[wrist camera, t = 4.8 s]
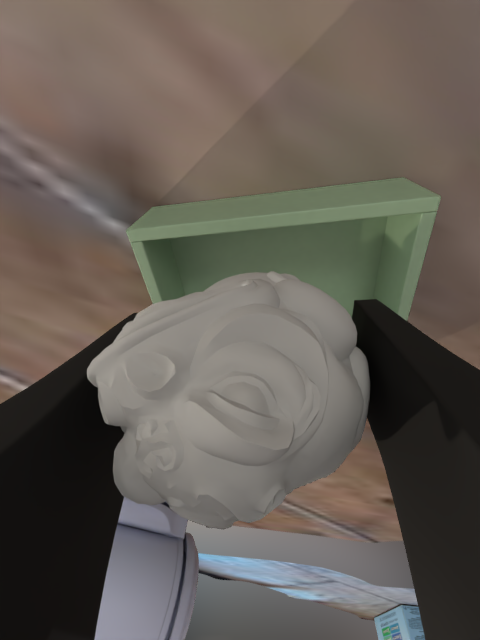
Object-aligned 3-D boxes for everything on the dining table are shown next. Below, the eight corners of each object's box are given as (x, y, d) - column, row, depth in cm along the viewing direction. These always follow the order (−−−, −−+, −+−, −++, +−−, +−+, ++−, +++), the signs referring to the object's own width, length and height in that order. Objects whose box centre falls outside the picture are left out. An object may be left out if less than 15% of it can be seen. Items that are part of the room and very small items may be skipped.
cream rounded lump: (251, 161, 8) (208, 302, 2) (378, 320, 10) (506, 564, 5) (128, 288, 10) (-31, 495, 5) (254, 387, 13) (245, 591, 8)
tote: (371, 345, 21) (389, 386, 18) (195, 353, 22) (184, 391, 19) (404, 176, 14) (442, 195, 11) (152, 206, 16) (124, 229, 13)
